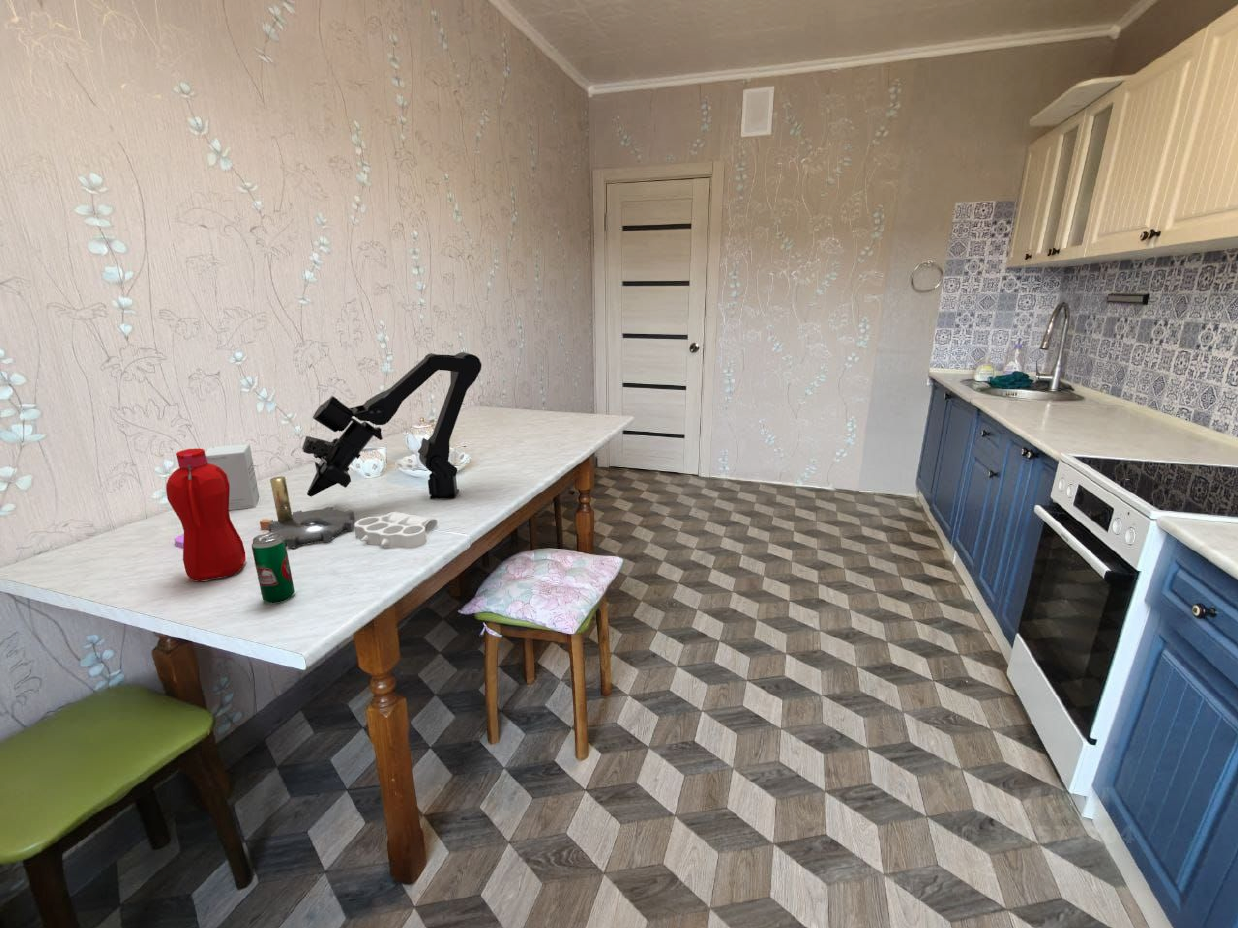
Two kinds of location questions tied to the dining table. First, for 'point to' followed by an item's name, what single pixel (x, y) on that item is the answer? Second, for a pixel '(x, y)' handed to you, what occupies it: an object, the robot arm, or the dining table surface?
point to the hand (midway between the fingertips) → (308, 495)
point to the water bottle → (204, 517)
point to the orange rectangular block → (265, 524)
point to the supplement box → (237, 473)
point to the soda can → (273, 567)
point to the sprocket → (306, 520)
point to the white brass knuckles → (394, 530)
